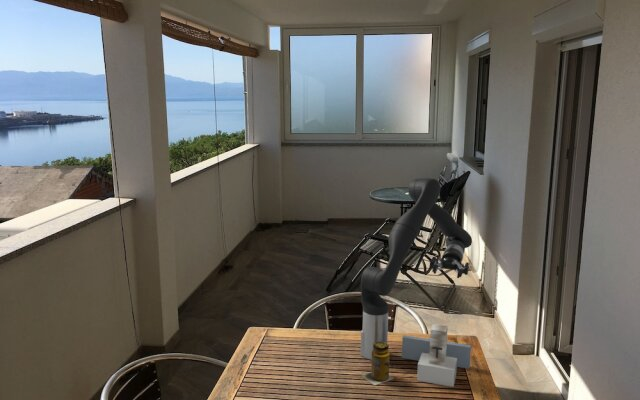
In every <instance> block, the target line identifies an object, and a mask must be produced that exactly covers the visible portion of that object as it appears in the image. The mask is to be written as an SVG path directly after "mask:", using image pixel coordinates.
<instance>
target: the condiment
mask: <svg viewBox="0 0 640 400" xmlns="http://www.w3.org/2000/svg"><path fill="white" fill-rule="evenodd" d="M389 349H390V348H389V344H388V342H387V343H385V342H375V343H374V344H373V351H372V360H371V364H370V365H371V368H370V369H371V371H370V372H368V373H366V374H363V375H362V374H361V377H362V378H363V379H364V380H366V381H367V382H369V383H371V384H372V385H374V386H378V385H380V384H383V383H386V382H389V381H391V380H394V379H395V378H394V377H393V376H391V375H390V356H391V355H390V350H389Z"/></svg>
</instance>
